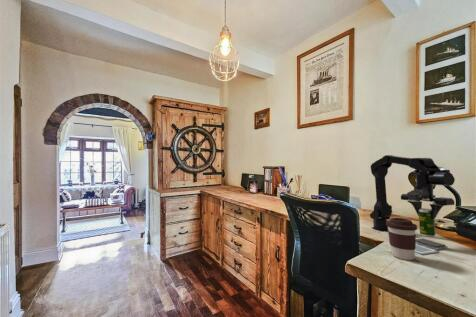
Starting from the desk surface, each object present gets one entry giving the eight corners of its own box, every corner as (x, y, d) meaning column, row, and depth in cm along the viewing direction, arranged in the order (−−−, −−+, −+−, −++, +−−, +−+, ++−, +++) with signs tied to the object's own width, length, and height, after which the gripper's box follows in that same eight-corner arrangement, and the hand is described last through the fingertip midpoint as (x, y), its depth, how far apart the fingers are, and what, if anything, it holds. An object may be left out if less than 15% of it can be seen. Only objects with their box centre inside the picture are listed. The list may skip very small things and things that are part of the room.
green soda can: (426, 233, 97) (425, 208, 98) (438, 236, 92) (437, 210, 93) (416, 233, 97) (415, 208, 97) (428, 237, 91) (426, 210, 92)
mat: (397, 246, 94) (397, 245, 94) (413, 244, 96) (413, 243, 96) (421, 255, 84) (421, 253, 84) (439, 252, 86) (439, 251, 86)
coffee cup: (406, 263, 77) (404, 223, 77) (381, 253, 86) (380, 217, 87) (425, 260, 79) (423, 221, 80) (399, 250, 89) (397, 216, 90)
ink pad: (411, 242, 98) (411, 239, 98) (422, 241, 100) (422, 237, 100) (435, 250, 89) (435, 246, 89) (447, 248, 90) (447, 245, 91)
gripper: (391, 183, 103) (393, 214, 102) (435, 186, 85) (438, 224, 84) (408, 182, 105) (409, 213, 105) (454, 185, 87) (456, 222, 87)
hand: (426, 217), depth 95 cm, fingers closed on green soda can, 5 cm apart
